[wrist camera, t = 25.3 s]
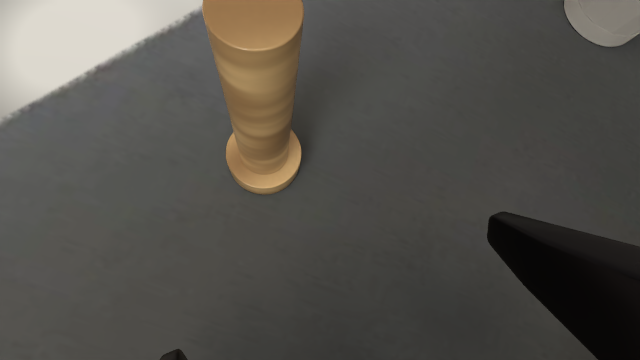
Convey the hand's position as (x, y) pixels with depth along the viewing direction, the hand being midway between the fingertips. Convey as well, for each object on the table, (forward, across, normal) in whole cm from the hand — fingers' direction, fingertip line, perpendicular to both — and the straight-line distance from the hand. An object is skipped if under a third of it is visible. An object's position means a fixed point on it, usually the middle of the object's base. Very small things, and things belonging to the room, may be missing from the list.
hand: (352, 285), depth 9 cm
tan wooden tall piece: (+14, 0, +3) cm, 14 cm away
